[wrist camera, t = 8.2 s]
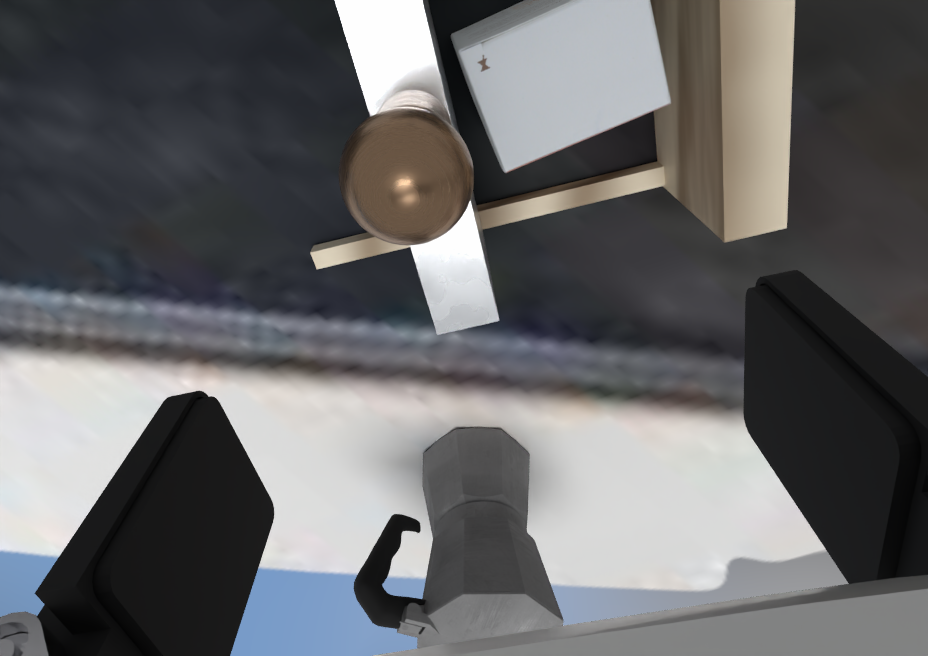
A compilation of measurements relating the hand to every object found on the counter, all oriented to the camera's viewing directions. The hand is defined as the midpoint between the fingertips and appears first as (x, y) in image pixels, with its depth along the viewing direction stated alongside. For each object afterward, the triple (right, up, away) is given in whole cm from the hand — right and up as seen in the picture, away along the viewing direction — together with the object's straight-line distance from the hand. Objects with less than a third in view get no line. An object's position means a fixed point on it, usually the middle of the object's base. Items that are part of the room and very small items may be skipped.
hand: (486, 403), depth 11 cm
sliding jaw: (-3, +15, +23) cm, 27 cm away
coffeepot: (0, -10, +39) cm, 40 cm away
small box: (+3, +17, +24) cm, 29 cm away
